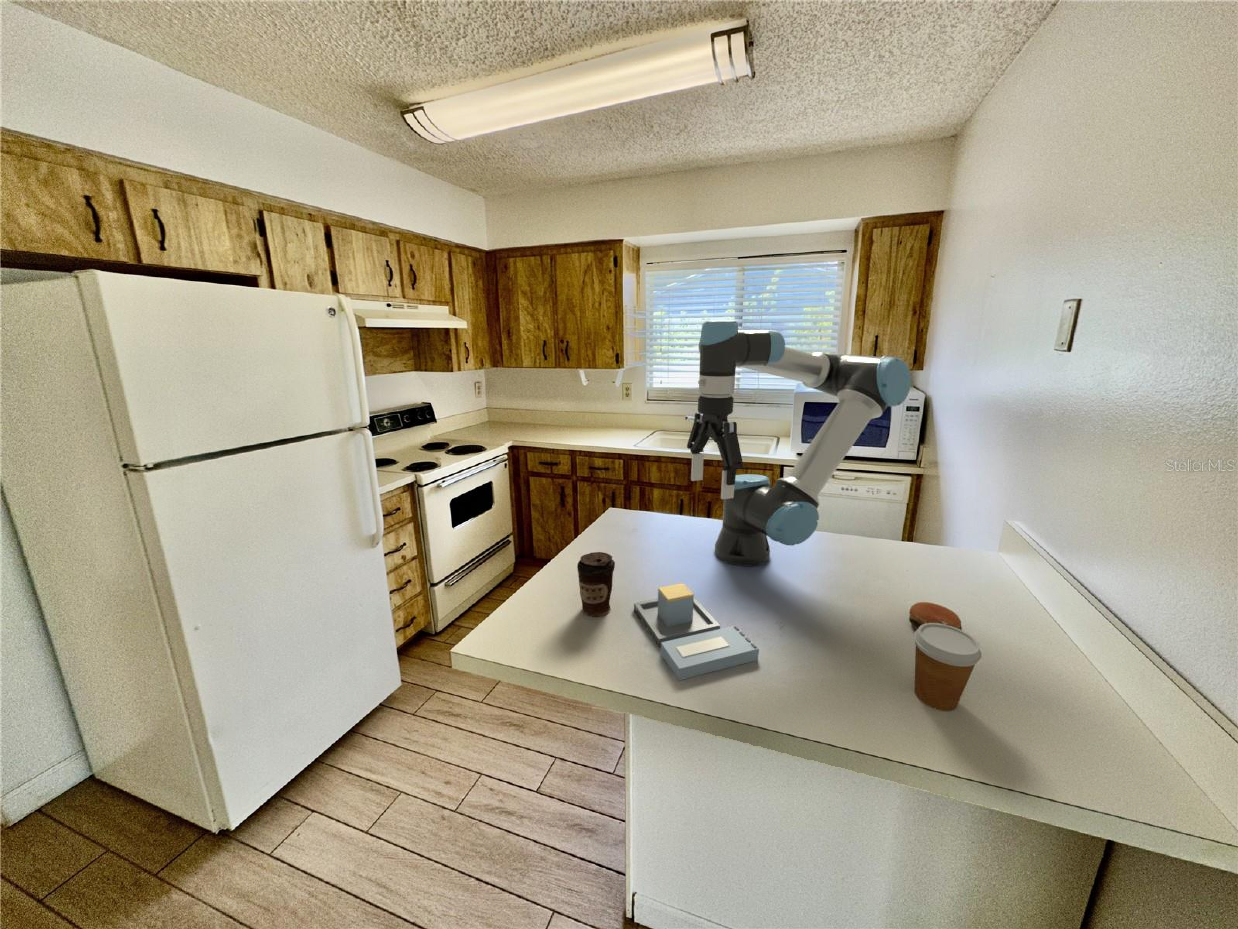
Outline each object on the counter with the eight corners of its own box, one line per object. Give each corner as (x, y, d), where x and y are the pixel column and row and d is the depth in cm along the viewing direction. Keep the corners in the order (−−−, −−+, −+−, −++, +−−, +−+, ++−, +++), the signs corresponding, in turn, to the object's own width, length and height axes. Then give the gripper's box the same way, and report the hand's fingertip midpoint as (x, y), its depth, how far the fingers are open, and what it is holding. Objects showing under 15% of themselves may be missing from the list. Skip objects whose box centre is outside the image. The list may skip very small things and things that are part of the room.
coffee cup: (610, 622, 105) (609, 569, 101) (573, 618, 107) (571, 565, 103) (618, 601, 113) (618, 551, 110) (584, 597, 115) (582, 547, 111)
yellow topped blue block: (682, 609, 109) (683, 583, 107) (692, 621, 104) (693, 594, 102) (657, 614, 107) (658, 587, 105) (667, 626, 102) (668, 599, 100)
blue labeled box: (735, 635, 101) (736, 624, 100) (758, 659, 93) (759, 647, 93) (660, 653, 95) (661, 641, 94) (678, 680, 88) (679, 667, 87)
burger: (934, 614, 108) (938, 595, 107) (971, 639, 99) (975, 620, 98) (896, 619, 106) (899, 600, 105) (930, 645, 98) (934, 625, 96)
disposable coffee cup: (892, 680, 88) (902, 622, 85) (941, 677, 89) (953, 620, 85) (928, 720, 79) (941, 658, 75) (983, 717, 79) (998, 654, 76)
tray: (688, 598, 114) (689, 592, 114) (719, 632, 102) (720, 625, 101) (633, 610, 110) (634, 603, 109) (658, 646, 97) (659, 639, 97)
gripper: (674, 389, 114) (672, 475, 120) (732, 404, 91) (726, 509, 97) (702, 387, 116) (699, 472, 122) (766, 402, 94) (757, 504, 99)
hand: (711, 488), depth 109 cm, fingers open, 13 cm apart
